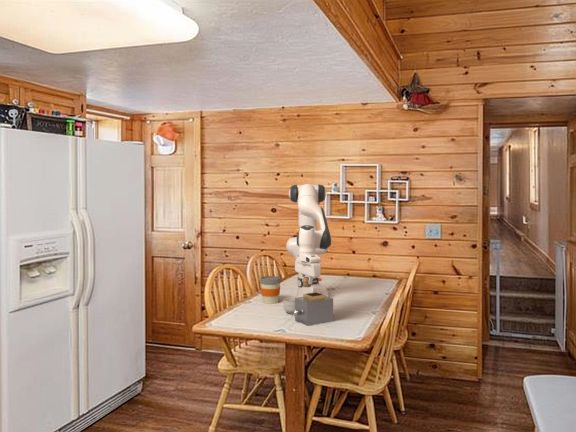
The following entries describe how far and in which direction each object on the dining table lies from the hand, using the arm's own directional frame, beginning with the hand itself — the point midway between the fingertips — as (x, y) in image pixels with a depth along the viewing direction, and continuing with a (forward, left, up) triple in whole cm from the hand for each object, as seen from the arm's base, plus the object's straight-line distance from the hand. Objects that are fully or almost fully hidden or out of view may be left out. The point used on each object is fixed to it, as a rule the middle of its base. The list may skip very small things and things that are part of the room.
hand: (307, 283), depth 270 cm
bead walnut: (0, 0, -2) cm, 2 cm away
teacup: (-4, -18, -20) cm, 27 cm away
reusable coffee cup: (-3, -46, -20) cm, 50 cm away
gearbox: (-2, +2, -20) cm, 20 cm away
